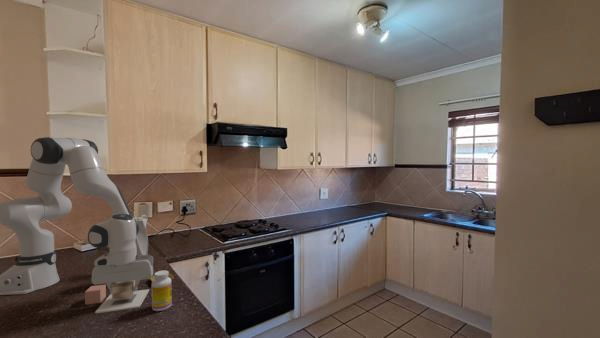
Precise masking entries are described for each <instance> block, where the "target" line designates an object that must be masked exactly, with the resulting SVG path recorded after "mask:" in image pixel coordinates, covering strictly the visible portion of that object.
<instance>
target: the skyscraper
mask: <svg viewBox="0 0 600 338" xmlns="http://www.w3.org/2000/svg"><path fill="white" fill-rule="evenodd" d="M144 217H146V218H144ZM134 218H135V219H136V221H137V222H138V225H139V232H138V234H137V236H136V240H135V243H136V246H137V255H148V250H149V236H148V232H147V224H148V220H149V218H148V215H146V214H143V215H141V216H140V217H134Z"/></svg>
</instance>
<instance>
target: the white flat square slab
mask: <svg viewBox="0 0 600 338" xmlns="http://www.w3.org/2000/svg"><path fill="white" fill-rule="evenodd" d="M149 291H150V289H149V288H148V289H147V288H146V289H141V290H140V289H139V290H137V291H135V293H134V294H133V296H132V297H131V299H126V300H118V301H112V294H109V295H108V297H106V299H105V300H103V301H102V302H101V304H100V306H99V307H98V308H97V309H96V310H95V312H94V314H97V315H98V314H103V313H104V314H105V313H110V312H116V311H117V312H118V311H123V310H124V311H125V310H132V309H138V308H140V307H141V305H142V303H143V302H144V301H145V300H146V299H145V298H146V297H147V295H148V294H149Z"/></svg>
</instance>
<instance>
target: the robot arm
mask: <svg viewBox="0 0 600 338" xmlns="http://www.w3.org/2000/svg"><path fill="white" fill-rule="evenodd" d="M30 155H31V157H32V159H31V162H30V165H29V169H28V171H27V172H28V173H27V176H26V181H25V184H26V185H25V186H26V187H27V188H28V189H29V190H31V191H33V192H34V193H37V196H34V197H25V198H24V197H22V198H21V197H20V198H15V199H9V200H7V201H2V202H0V225H2V226H5V227H7V228H9V229H11V230H12V231H13V233H15V235H16V237H17V240H18V247H19V255H18V256H16V257H15V258H12V259H11V262H12V263H13V262H14V264H13V265H12V266H11V267H10V268H9V267H8V269H7V270H5V271H3V272H2V273H1V274H0V296H6V295H7V296H9V295H11V296H12V295H25V294H29V293H32V292H34V291H37V290H38V291H39V290H41V289H45V288H47V287H51V286H53V285H55V284H57V283H59V281H60V280H61V279H60V276H59V274H58V269H57V264H56V262H57V252H56V249H55V235H54V233H53V232H52V230H51V231H50V230H49V229H46V228H42V227H40V225H39V223H40V222H44V221H51V220H55V219H60V218H62V217H65V216H68V215H69V214H70V213H71V211H72V209H73V203H72V201H71V199H70V198H69V197H68V196H66V195H65V194H63V191H62V188H61V187H62V181H63V177H64V174H65V168H66V166H67V167H68V171H69V174H70V179H71V182H72V185H73V187H74V188H75V189H76V190H77V191H78V192H80V193H82V194H84V195H87V196H91V197H96V198H100V199H103V200H104V201H106V202H107V204H109V206H110V209H111V210H112V212H113V214H114V215H111V217H110V218H109V219H107V220H105V221H103V222H100V223H96V224H94V225H92V226H91V228H89V231H88V233H87V240H88V243H89V245H90V246H91V247H93V248H96V249H102V248H104V249H105V248H110V251H109V253H108V254H105V253H104V254H103V255H100V256H99V257H97V258H96V259H95V260H94V262H93V264H94V267H93V269H92V271H91V284H93V286H97V285H106V288H108V290H109V291H110V292H109V293H110V294H112V287H113V286H112V283H115V282H124V281H133V280H135V285H134V286H133V287H132V292H133V291H138V288H139V287H138V285H139V284H140V283H141V281H142V280H150V278H151V277H152V276H154V257H153V256H152V255H151V254H147V255H137V246H136V243H135V240H136V236H137V234H138V232H139V225H138V222H137V221H136V219H135V218H136V217H134V216H133V214H132V212H131V209H130V207H129V206H128V203H127V202H126V199H125V198H124V195H123V193H122V192H121V190H120V188H119V187H118V185H117V184H116V183H114V182H113V181H112V180H111V179H110V178H109V176H108V175H107V173H106V171H105V168H104V164H103V162H102V160H101V159H102V158H101V157H100V155H99V148H98V146H97V144H96V143H95V142H94V141H92V140H89V139H82V138H81V139H80V138H74V137H50V136H49V137H48V136H47V137H46V136H45V137H44V136H43V137H39V138H36V139H34V141H33V142H32V143H31V145H30ZM106 283H107V284H106ZM110 294H109V295H110Z"/></svg>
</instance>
